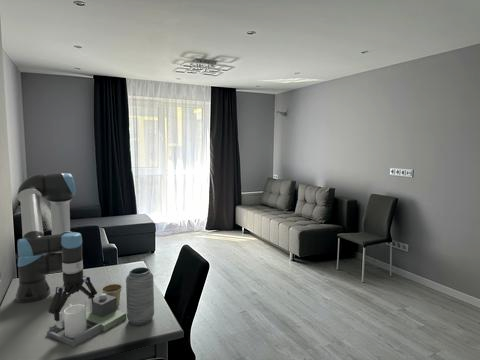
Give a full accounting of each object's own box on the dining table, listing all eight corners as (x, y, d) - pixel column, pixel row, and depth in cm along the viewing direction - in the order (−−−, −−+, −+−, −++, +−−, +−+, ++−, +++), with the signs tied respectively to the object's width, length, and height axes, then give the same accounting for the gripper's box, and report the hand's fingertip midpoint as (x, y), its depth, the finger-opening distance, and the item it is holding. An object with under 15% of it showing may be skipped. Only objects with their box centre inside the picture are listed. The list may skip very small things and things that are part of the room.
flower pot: (115, 310, 154) (115, 292, 153) (98, 308, 156) (97, 291, 155) (126, 301, 163) (125, 284, 163) (109, 299, 165) (109, 283, 164)
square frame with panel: (44, 333, 134) (43, 309, 133) (96, 308, 156) (95, 287, 155) (75, 347, 125) (74, 322, 124) (126, 318, 147) (125, 296, 146)
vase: (128, 329, 138) (126, 277, 136) (126, 316, 148) (124, 268, 146) (156, 323, 142) (155, 273, 140) (152, 311, 153) (151, 264, 151)
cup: (79, 321, 144) (78, 299, 144) (89, 332, 136) (88, 309, 135) (59, 328, 139) (58, 305, 138) (68, 340, 130) (67, 316, 129)
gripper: (48, 283, 121) (51, 337, 123) (104, 262, 143) (106, 308, 145) (36, 279, 124) (39, 331, 126) (93, 259, 146) (94, 304, 148)
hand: (75, 319), depth 136 cm, fingers open, 13 cm apart
